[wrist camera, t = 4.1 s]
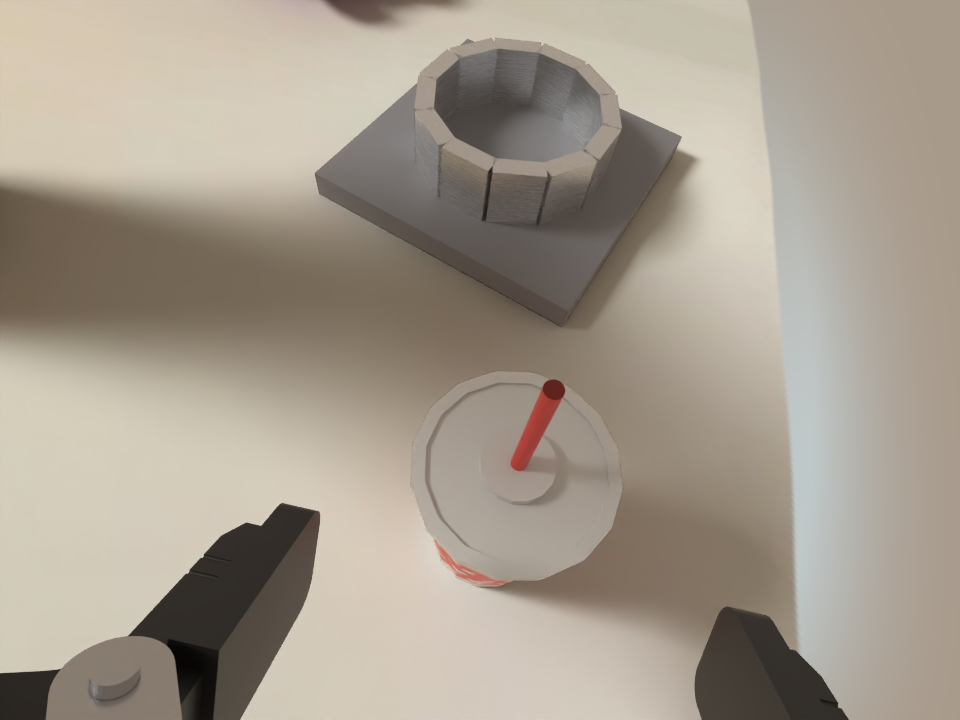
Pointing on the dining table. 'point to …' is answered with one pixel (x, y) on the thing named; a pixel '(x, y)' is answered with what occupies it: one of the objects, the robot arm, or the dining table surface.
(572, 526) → the beverage cup
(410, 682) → the dining table surface
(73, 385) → the dining table surface
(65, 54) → the dining table surface
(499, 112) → the flange board
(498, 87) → the collar
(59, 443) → the dining table surface
